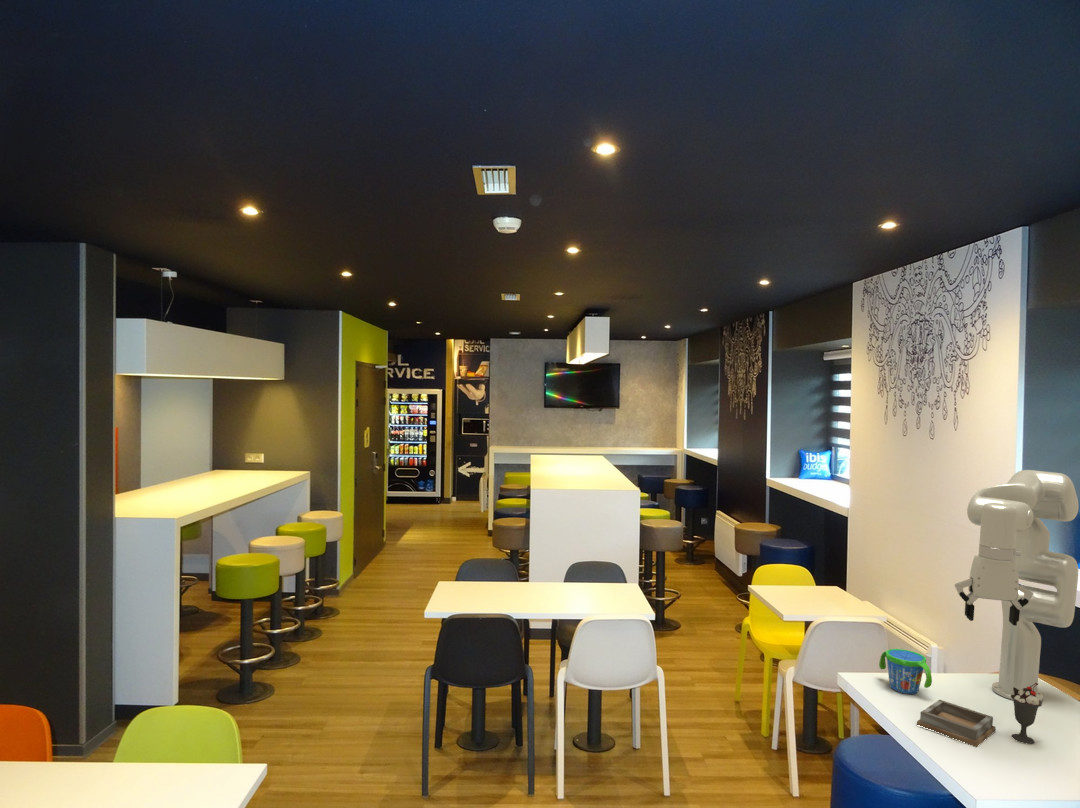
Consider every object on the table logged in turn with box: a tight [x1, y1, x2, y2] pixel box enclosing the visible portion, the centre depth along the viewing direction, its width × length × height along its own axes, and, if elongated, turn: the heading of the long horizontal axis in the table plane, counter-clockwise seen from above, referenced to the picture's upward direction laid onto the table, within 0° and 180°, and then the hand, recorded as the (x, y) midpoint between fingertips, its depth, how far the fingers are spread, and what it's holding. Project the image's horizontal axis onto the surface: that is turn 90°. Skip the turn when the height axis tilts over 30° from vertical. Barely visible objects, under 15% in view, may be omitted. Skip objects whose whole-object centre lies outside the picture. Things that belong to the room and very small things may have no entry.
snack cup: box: [878, 648, 933, 695], centre depth 219 cm, size 16×10×10 cm
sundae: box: [1011, 683, 1043, 745], centre depth 191 cm, size 7×7×15 cm
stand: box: [916, 699, 997, 748], centre depth 195 cm, size 14×14×4 cm
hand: (991, 621), depth 189 cm, fingers open, 9 cm apart
